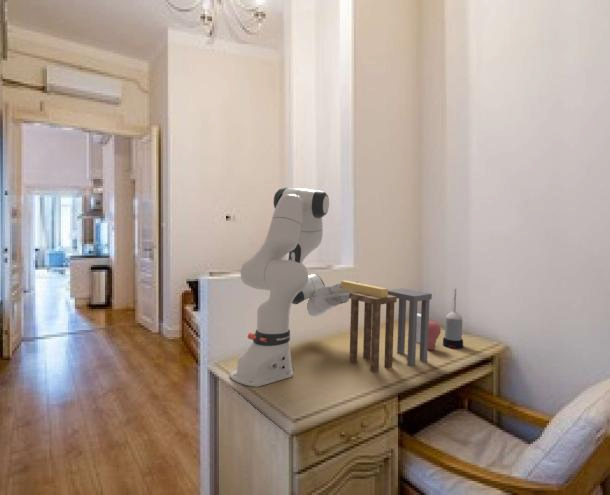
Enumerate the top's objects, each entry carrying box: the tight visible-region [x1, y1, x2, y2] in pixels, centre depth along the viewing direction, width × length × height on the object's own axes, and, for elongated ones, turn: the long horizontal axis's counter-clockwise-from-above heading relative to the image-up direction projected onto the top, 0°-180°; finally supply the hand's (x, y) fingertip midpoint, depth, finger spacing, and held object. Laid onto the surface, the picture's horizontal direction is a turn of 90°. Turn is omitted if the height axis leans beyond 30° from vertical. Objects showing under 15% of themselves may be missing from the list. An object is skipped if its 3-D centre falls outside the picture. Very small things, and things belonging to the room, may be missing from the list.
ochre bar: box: [340, 280, 389, 298], centre depth 146 cm, size 22×3×3 cm, turn 35°
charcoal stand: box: [388, 288, 433, 367], centre depth 149 cm, size 14×10×26 cm
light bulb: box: [428, 320, 442, 351], centre depth 161 cm, size 7×7×12 cm
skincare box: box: [416, 312, 421, 344], centre depth 173 cm, size 6×4×12 cm
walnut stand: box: [349, 292, 398, 374], centre depth 142 cm, size 14×10×26 cm
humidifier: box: [442, 288, 464, 350], centre depth 167 cm, size 8×8×25 cm
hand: (349, 284), depth 152 cm, fingers open, 8 cm apart
